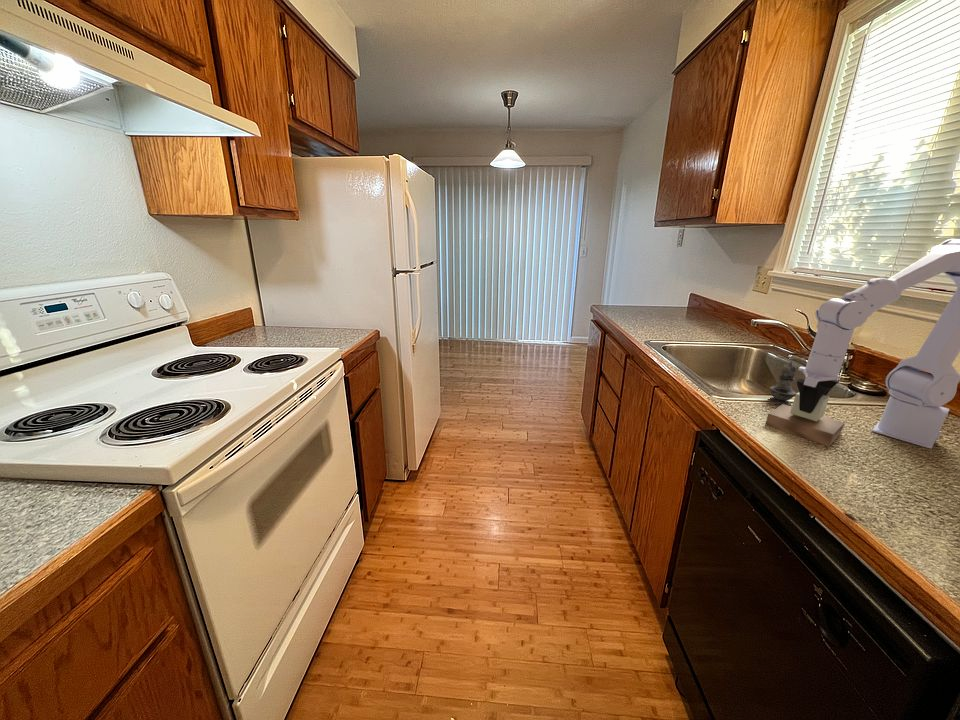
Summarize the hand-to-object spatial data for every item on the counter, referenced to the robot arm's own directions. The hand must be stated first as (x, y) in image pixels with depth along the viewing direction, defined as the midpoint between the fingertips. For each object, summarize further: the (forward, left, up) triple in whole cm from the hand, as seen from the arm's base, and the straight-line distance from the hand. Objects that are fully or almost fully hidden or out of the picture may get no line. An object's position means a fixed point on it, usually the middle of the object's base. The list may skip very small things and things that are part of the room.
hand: (809, 408), depth 89 cm
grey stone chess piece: (+9, -15, -6) cm, 18 cm away
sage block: (0, 0, -2) cm, 2 cm away
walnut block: (0, 0, -5) cm, 5 cm away
